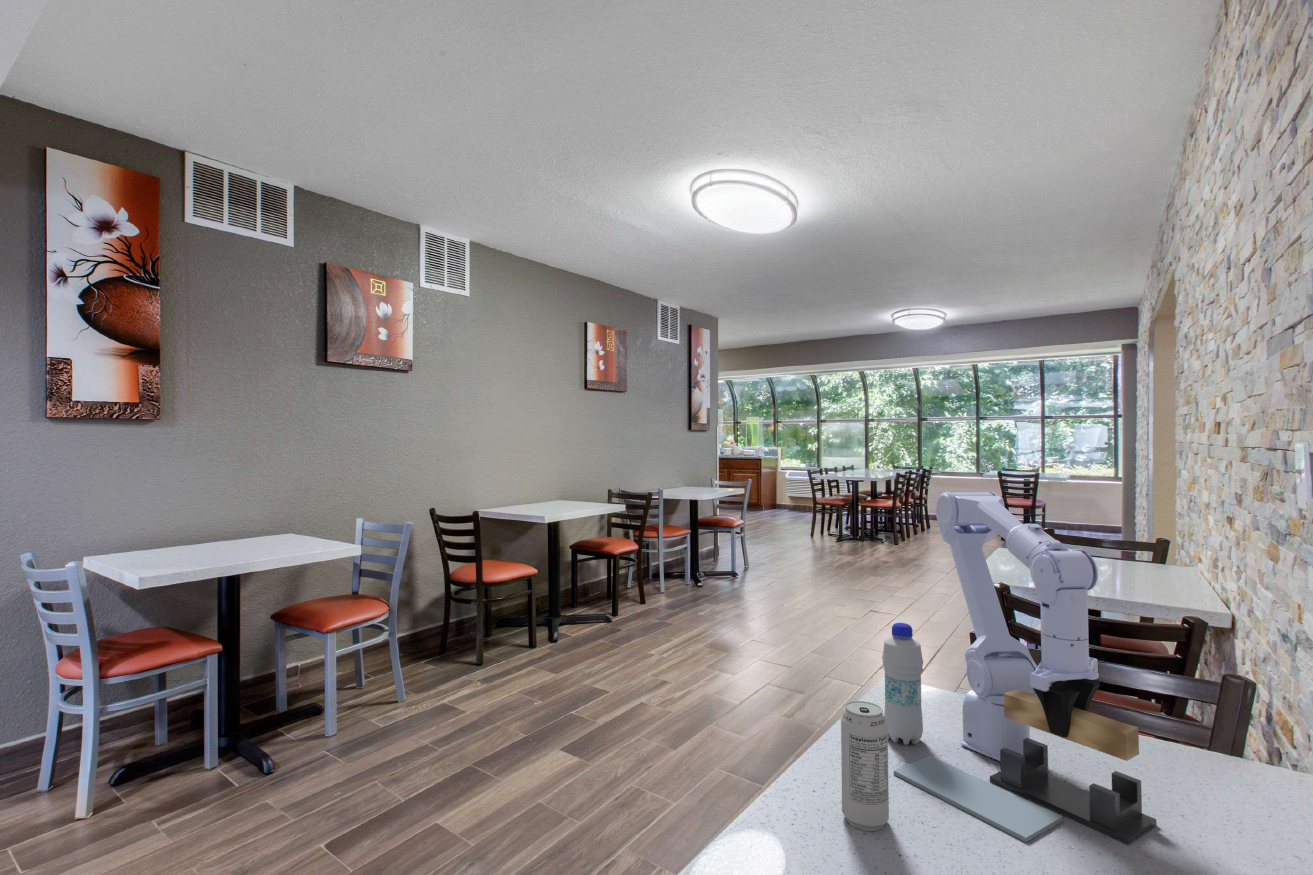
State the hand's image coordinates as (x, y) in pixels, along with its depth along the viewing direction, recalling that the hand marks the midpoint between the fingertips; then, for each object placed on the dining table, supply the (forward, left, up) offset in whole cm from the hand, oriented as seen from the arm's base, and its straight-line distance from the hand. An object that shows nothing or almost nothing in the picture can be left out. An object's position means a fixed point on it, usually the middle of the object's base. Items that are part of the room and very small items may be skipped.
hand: (1066, 731), depth 89 cm
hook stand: (0, 0, -10) cm, 10 cm away
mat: (-8, -10, -10) cm, 16 cm away
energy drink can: (-12, -28, -10) cm, 32 cm away
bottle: (-25, -3, -10) cm, 27 cm away
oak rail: (0, 0, 0) cm, 0 cm away
